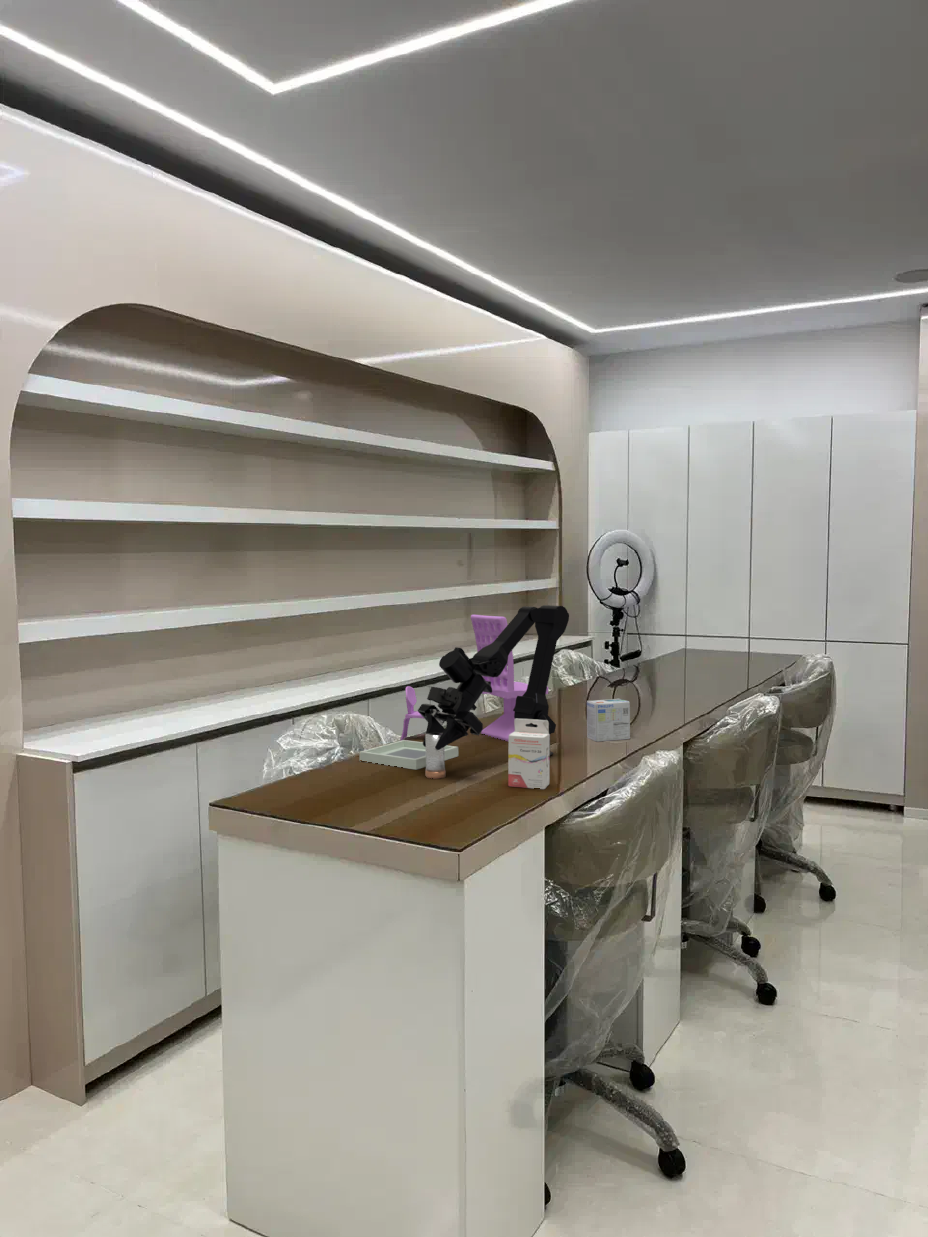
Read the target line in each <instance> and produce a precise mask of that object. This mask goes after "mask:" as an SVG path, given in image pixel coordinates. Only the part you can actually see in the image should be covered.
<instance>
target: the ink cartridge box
mask: <svg viewBox="0 0 928 1237" xmlns="http://www.w3.org/2000/svg"><path fill="white" fill-rule="evenodd" d="M530 723H533V724H536V725H537V727H526V726H525V725H526V724H530ZM514 725H515V732H513V733H511V734H510V735H509V742H508V745H507V746H508V748H507V749H508V753H507V754H508V756H507V757H508V765H507V766H508V768H507V770H508V773H507V776H508V778H507V779H508V783H507V784H508V787H513V788H525V789H534V788H540V789H539V790H545V789H546V788H547V787H548V786H549V785H550V756H549V754H550V753H549V750H550V751H551V748H550V749H549V745H550V746H551V742H550V743H549V740H550V741H551V734H549V722H548V721H547V720H536V719H518V718H516V719H515V720H514Z"/></svg>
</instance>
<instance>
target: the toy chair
mask: <svg viewBox="0 0 928 1237" xmlns="http://www.w3.org/2000/svg"><path fill="white" fill-rule="evenodd" d="M405 700H406V701H405V702H406V703H405V704H406V709H407V713H406V714H405V715H404V716H405V717H404V719H403V728H402V733H401V736H400V740H399V741H401V740H405V738H407V737H408V731H409V724H410V720H411V719H424V720H425V718H424V717H423V716H422V715H421V714H420V713H419V712H418V710H417V711H416V710H414V707H415V705H416V703H417V696H416V691H415V689H414V688H413V687H412V686H410V685H407V686H406V687H405Z"/></svg>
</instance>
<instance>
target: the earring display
mask: <svg viewBox="0 0 928 1237" xmlns="http://www.w3.org/2000/svg"><path fill="white" fill-rule="evenodd" d="M470 621H471V624H472V630H473V633H474V637H475V638H474V639H475V643H476V650H477V652H478V651H480V650H481V649H482V648H484V647H486V646H488V645H490V644H491V643H493V642H494V641H495V640H496V638H497V637H498V636H499V635H500V634H501V632H502V631H503V630H504V629H505V628H506V627H507V625H508V624H509V623H508V620H507V617H505V616H500V615H499V616H498V615H497V616H496V615H495V616H494V615H482V614H471V615H470ZM477 652H476V653H477ZM514 665H515V664H514V655H513V650H512V651H511V652H510V654H509V655H508V662H507V664H506V666H505V668H504V670H503V671H502V673H501V674H500V675H499V676H498V677H487V676H482V677H483V678H484V679H485V680H486V681H490V682H491V687H492V693H488V692H483V693H482V694H481V695H491V696H494V697H499V698H502V699H503V714H502V715H500V716H499V717H497V718H496V719H495V720H494V721H492V722H491V723H490V724H488V725H487V726H486V727H485V728H484V727H483V730H482V731H481V733H480V734H485V735H488V736H487V737H489V736H491V737H490V738H493V737H494V739H497V738H498V740H500V739H501V740H500V741H504V740H505V742H508V743H509V735H510V734H511V733H513V732H515V725H514V720H515V718H514V713H515V711H513V709H514V708H515V704H516V698H517V696H523V694H524V693H525V692H526V690H527V686H528V683H526V682H521V681H515V667H514ZM548 694H549V686H547V690H546V695H548ZM485 735H484V736H485Z"/></svg>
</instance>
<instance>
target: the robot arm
mask: <svg viewBox="0 0 928 1237" xmlns="http://www.w3.org/2000/svg"><path fill="white" fill-rule="evenodd" d="M569 620H570V613H569V612H568V610H567V608H566V607H565V606H563V605H554V604H553V605H552V604H551V605H549V604H544V605H541V606H540V607H536V606H527V605H526V606H522V607H520V608H518V611H517V613H516V614H515V616H514V617H513V619H511V621H510V622H509V623H507V624H508V625H507V627H506V628H505V629H504V630H503V631H502V632H501V634H500V635H499V636H498V637H497V638H496V640H495V641H494V642H493V643H491V644H490V645H488V646H486V647H484V648H482V649H481V650H480V651H478V652H476V653H475V654H474V655H473V656H472V657H470V658H469V656H468V655H467V653H466V652H465V650H464V649H463V648H462V647H457V646H456V647H454V649H453V650H450V651H449V652H447V653H446V654H444V655H443V656H441V659H440V660H439V663H438V666H439V667H440V669H441V670H442V671H443V673H445V675H446V676H447V677H448V678H449V679H450V680H451V681H452V682H453V683H454V684H458V686H457V687H456V688H455V687H452V686H448V687H447V688H443V687H438V686H437V687H436V686H431V687H430V689H429V692H428V695H427V698H426V699H427V700H428V701H432V702H435V703H437V706H436V705H435V704H430V703H422V704H421V705H420V706H419V707H418V709H417V711H418V712H419V713H420V714H421V715H422V716H423V717H424V718H425V719H424V720H426V722H427V727H426V730H425V734H427V733H433V732H438V733H443V734H442V735H441V737H440V739H439V740H438V742H437V744H436V746H435V748H436V749H437V750H440V749H441V748H443V747H445V746H449V745H450V744H452V743H454V742H456V741H458V740H459V739H461V738H464V737H468V735H469V733H470V734H471V735H472V736H473V735H474V736H480V734H481V731H482V730H483V729H484V724H483V722H482V721H481V720H480V719H479V718H478V716H476V714H475V713H474V712H472V711H476V709H477V706H476V705H475V704H476V703H477V702H478V700H479V698H480V697H481V696H482V695H483V694H482V693H483V692H488V693H492V687H491V682H490V681H486V680H485V679H484V678H483V677H482V676H487V677H498V676H499V675H500V674H501V673H502V671H503V670H504V668H505V666H506V664H507V662H508V655H509V654H510V652H511V651H512V652H513V650H514V649H515V647H516V646H517V645H518V644H519V643H520V641H521V640H522V639H523V638H524V636H525V635H526V634H527V633H528V631H529V630H530V629H531V628H532V627H533V625H534V627H535V630H536V631H535V632H536V635H537V641H536V644H535V645H536V646H535V649H534V650H535V651H534V654H533V658H532V659H533V660H532V665H531V668H530V673H529V678H528V682H527V684H528V686H527V690H526V692H525V693H524V694H523V696H517V698H516V704H515V708H514V709H513V711H515V713H514V718H515V719H516V718H518V719H536V720H547V721H548V722H549V734H550V735H551V734H554V733H555V732H556V728H557V724H556V723H555V721H554V720H553V719H552V718H551V717H550V716H549V710H550V709H549V707H550V706H549V703H548V702H549V701H548V699H547V697H546V695H547V694H546V690H547V687H548V685H549V679H550V675H551V670H552V666H553V661H554V657H555V651H556V647H557V642H558V640H559V639H561V637H562V635H563V634H564V633H565V632H566V629H567V626H568V624H569ZM507 665H508V664H507ZM438 708H439V709H438ZM445 722H446V727H444V726H443V724H445ZM525 726H526V727H537V725H536V724H533V723H530V724H526V725H525ZM468 731H469V733H468ZM422 742H423V745H424V746H425V747H426V736H425V735H424V738H423V741H422ZM549 743H550V745H549V749H550V750H549V753H550V754H549V757H550V756H552V755H554V752H552V751H551V739H550V740H549Z"/></svg>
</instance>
